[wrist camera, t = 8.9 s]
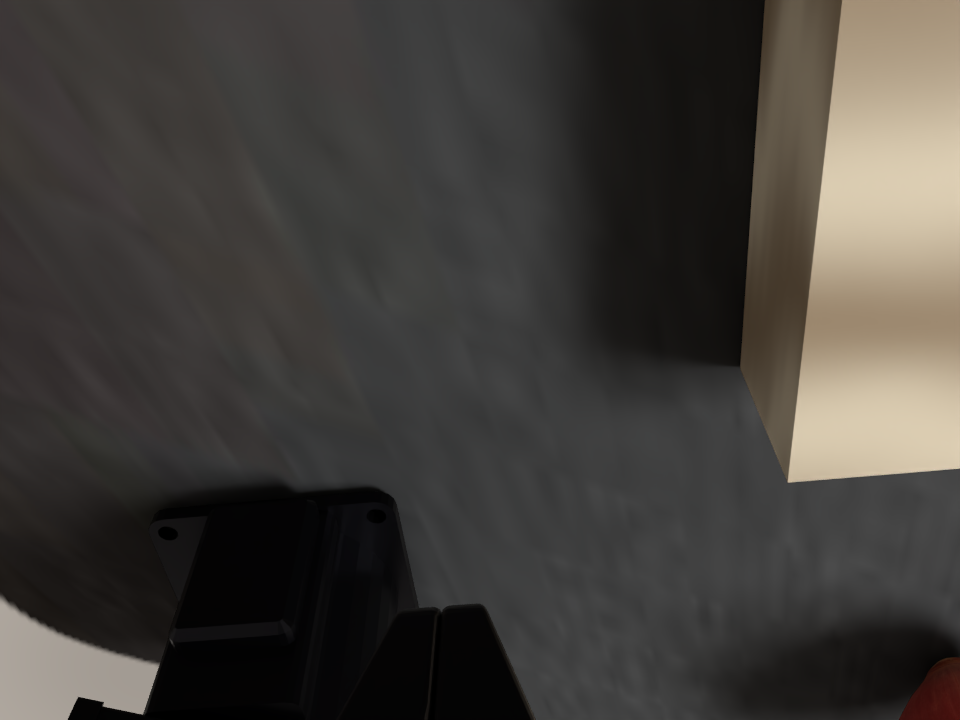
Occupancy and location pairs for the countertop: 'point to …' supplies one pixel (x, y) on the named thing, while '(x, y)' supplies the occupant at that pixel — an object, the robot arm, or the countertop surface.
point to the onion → (937, 694)
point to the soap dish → (856, 238)
